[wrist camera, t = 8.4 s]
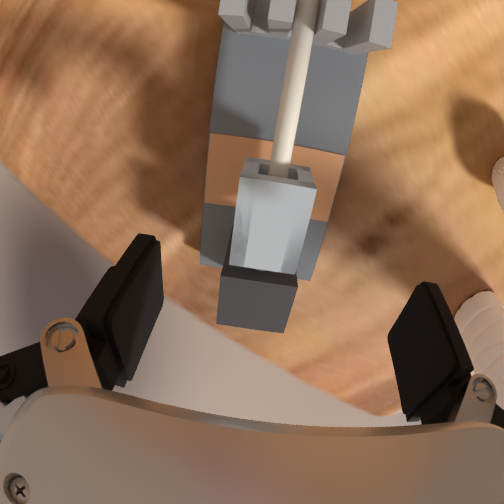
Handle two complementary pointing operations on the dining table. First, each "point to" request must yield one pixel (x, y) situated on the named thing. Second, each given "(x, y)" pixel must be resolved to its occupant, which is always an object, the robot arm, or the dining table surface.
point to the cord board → (282, 128)
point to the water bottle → (484, 337)
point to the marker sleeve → (271, 217)
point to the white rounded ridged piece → (499, 181)
